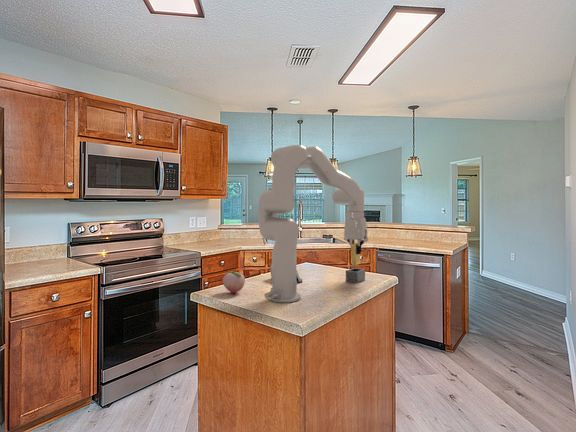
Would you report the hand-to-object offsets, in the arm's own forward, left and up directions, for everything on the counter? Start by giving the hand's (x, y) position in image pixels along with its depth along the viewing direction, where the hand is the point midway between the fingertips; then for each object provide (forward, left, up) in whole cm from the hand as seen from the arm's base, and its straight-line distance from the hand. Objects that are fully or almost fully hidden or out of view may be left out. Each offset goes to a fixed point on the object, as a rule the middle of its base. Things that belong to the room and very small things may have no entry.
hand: (355, 253), depth 160 cm
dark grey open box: (0, 0, -13) cm, 13 cm away
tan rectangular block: (0, 0, -5) cm, 5 cm away
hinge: (-21, +26, -13) cm, 36 cm away
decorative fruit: (-50, +30, -13) cm, 60 cm away
